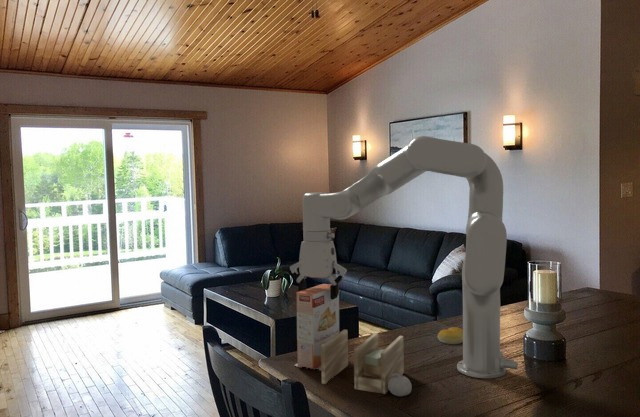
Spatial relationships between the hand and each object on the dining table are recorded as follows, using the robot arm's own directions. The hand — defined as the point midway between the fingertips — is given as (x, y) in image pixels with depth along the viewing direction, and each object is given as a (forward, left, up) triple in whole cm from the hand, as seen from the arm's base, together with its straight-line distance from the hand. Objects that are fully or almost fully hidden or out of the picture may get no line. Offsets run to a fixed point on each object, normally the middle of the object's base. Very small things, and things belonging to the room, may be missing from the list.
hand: (318, 297), depth 158 cm
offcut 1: (-20, +7, -14) cm, 25 cm away
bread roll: (-30, -33, -19) cm, 49 cm away
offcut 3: (-20, +7, -19) cm, 29 cm away
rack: (-16, +7, -19) cm, 26 cm away
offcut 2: (-20, +7, -16) cm, 27 cm away
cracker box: (0, 0, -18) cm, 19 cm away
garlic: (-28, +14, -19) cm, 36 cm away
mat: (0, 0, -19) cm, 19 cm away
